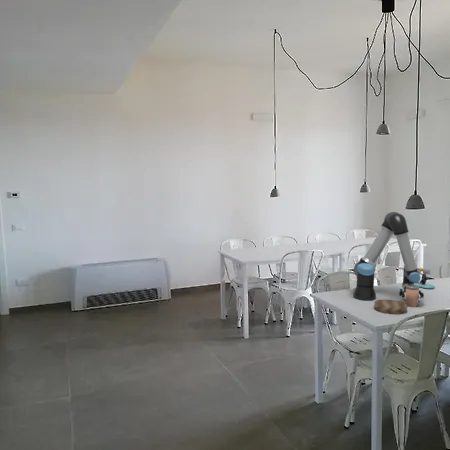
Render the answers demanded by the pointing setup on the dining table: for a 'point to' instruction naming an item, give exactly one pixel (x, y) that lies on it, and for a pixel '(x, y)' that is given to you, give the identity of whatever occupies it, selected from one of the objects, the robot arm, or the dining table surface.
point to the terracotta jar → (412, 295)
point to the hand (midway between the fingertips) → (412, 297)
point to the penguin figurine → (423, 279)
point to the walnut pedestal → (390, 306)
